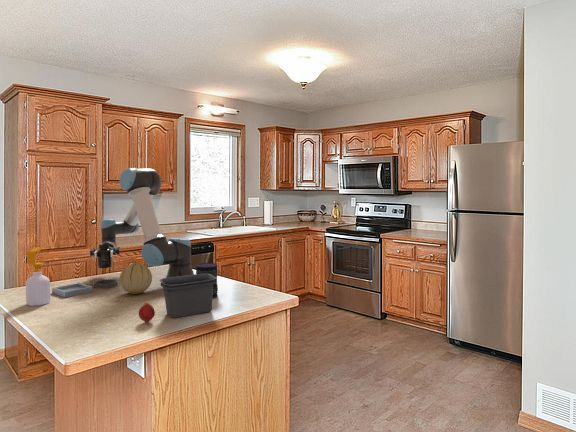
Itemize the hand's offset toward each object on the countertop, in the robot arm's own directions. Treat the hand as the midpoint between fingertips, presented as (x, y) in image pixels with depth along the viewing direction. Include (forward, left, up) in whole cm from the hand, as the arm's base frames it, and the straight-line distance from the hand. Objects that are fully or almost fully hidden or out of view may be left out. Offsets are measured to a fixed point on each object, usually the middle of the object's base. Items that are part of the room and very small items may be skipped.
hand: (103, 254), depth 212 cm
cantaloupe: (-22, -4, -17) cm, 28 cm away
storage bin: (-65, 0, -17) cm, 67 cm away
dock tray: (+4, +14, -17) cm, 22 cm away
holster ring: (+4, -3, -17) cm, 17 cm away
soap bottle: (-3, +32, -17) cm, 37 cm away
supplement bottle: (+4, -3, -7) cm, 9 cm away
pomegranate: (-63, +18, -17) cm, 68 cm away
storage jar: (-53, -21, -17) cm, 60 cm away
